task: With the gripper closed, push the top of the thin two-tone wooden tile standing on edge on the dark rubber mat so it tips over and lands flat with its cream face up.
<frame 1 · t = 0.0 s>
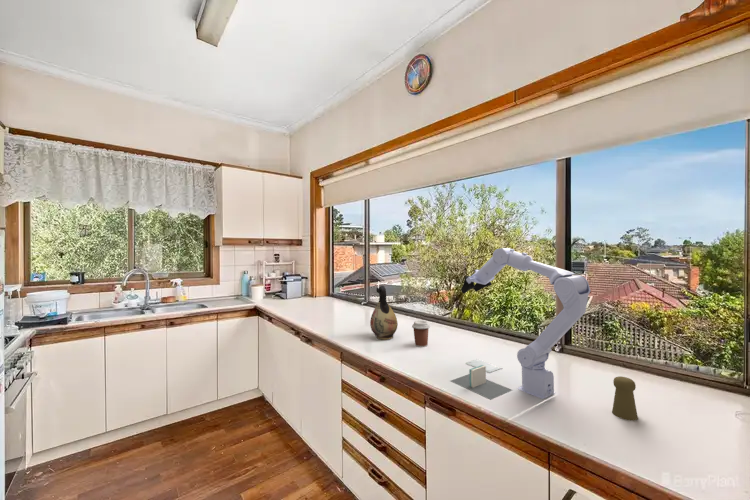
hand: (468, 290, 133), 32 cm above the worktop, tool tilted 50°, fingers open, 7 cm apart
coffee cup: (421, 345, 164), on the worktop
olive green pepper mill: (624, 415, 94), on the worktop
mat: (480, 386, 115), on the worktop
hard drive: (483, 369, 133), on the worktop
ceramic jug: (384, 338, 178), on the worktop
tile: (477, 384, 116), point 1 cm above the worktop, touching mat
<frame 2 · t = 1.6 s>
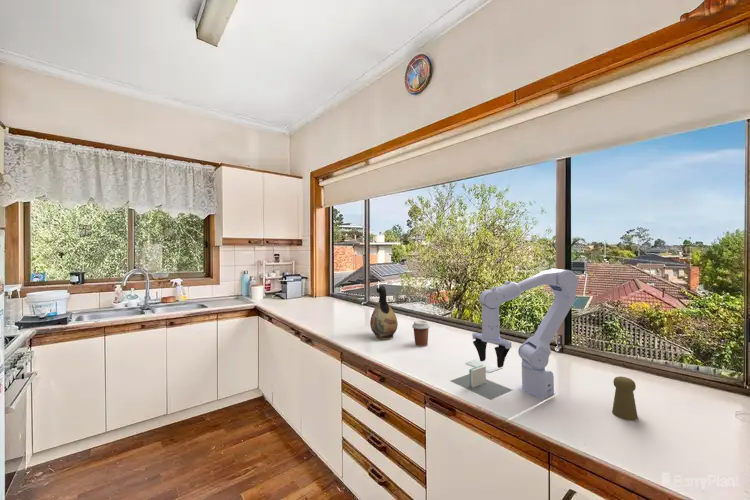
hand: (491, 363, 110), 10 cm above the worktop, tool pointing down, fingers open, 7 cm apart
nothing on the worktop moved.
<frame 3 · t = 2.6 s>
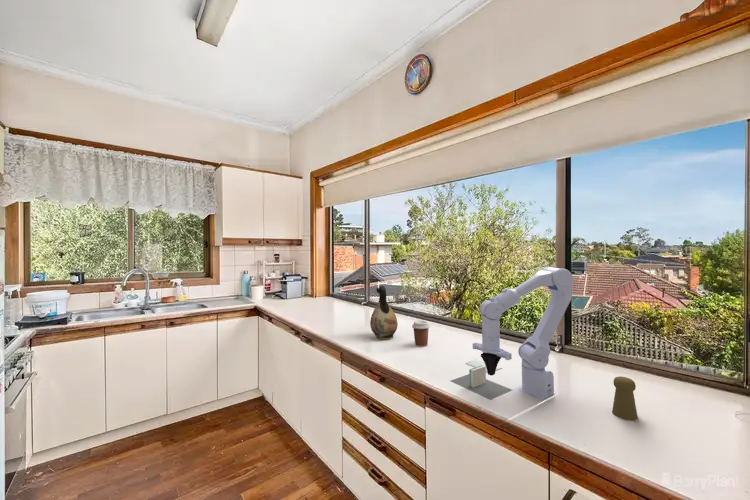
hand: (491, 374, 110), 6 cm above the worktop, tool pointing down, fingers closed
nothing on the worktop moved.
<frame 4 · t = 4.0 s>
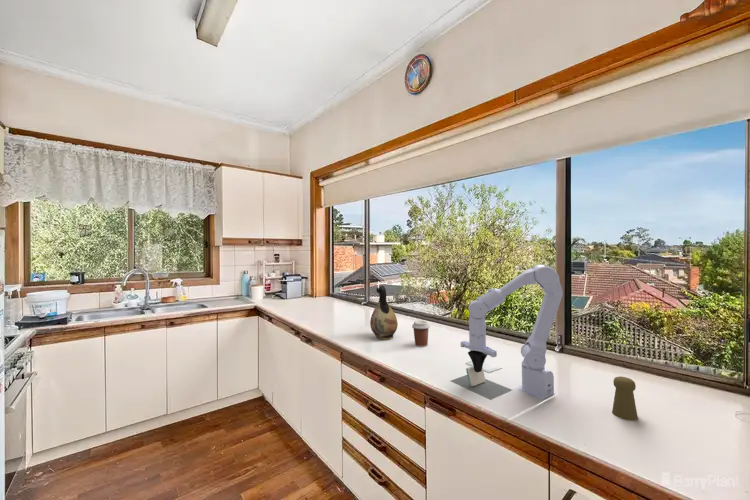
hand: (478, 371, 115), 5 cm above the worktop, tool pointing down, fingers closed
tile: (477, 383, 116), point 1 cm above the worktop, tilted 15°, touching mat
everything else where it was.
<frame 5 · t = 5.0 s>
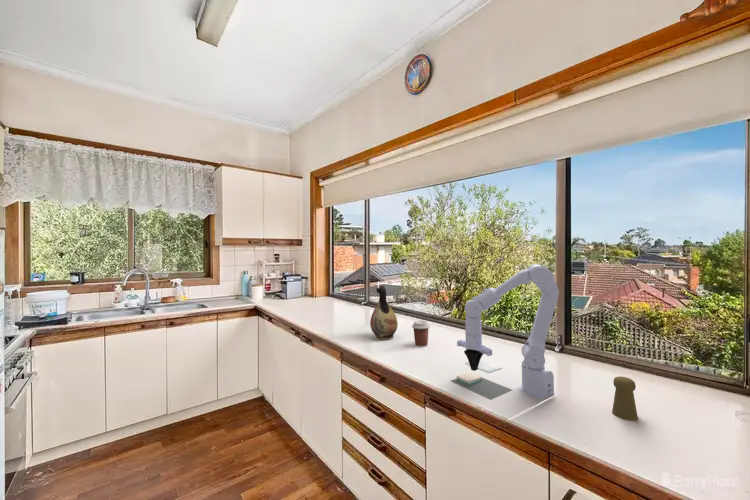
hand: (474, 369, 117), 5 cm above the worktop, tool pointing down, fingers closed
tile: (475, 381, 116), point 1 cm above the worktop, tilted 90°, touching mat
everything else where it was.
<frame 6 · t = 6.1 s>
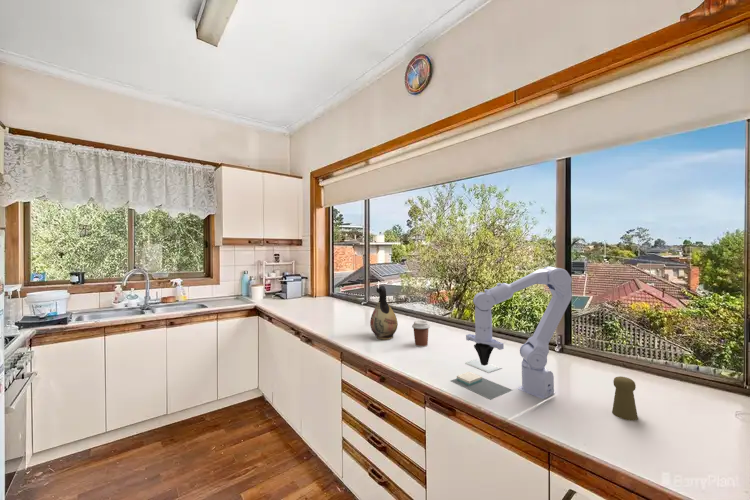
hand: (484, 364, 113), 9 cm above the worktop, tool pointing down, fingers closed
nothing on the worktop moved.
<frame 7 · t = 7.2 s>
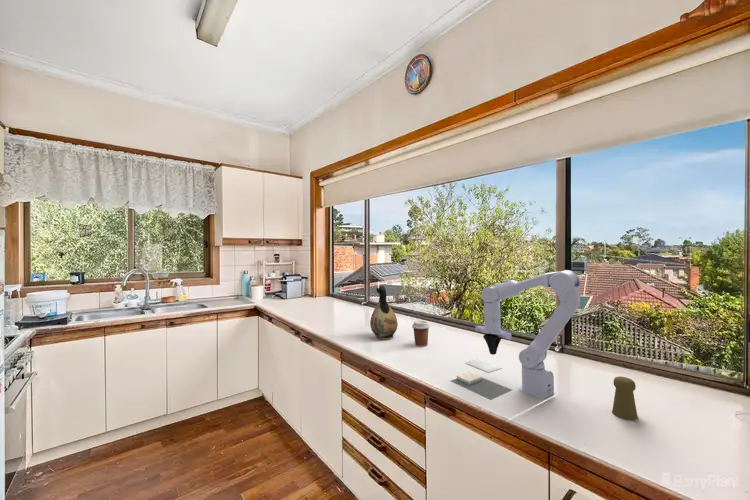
hand: (493, 353, 120), 10 cm above the worktop, tool pointing down, fingers closed
nothing on the worktop moved.
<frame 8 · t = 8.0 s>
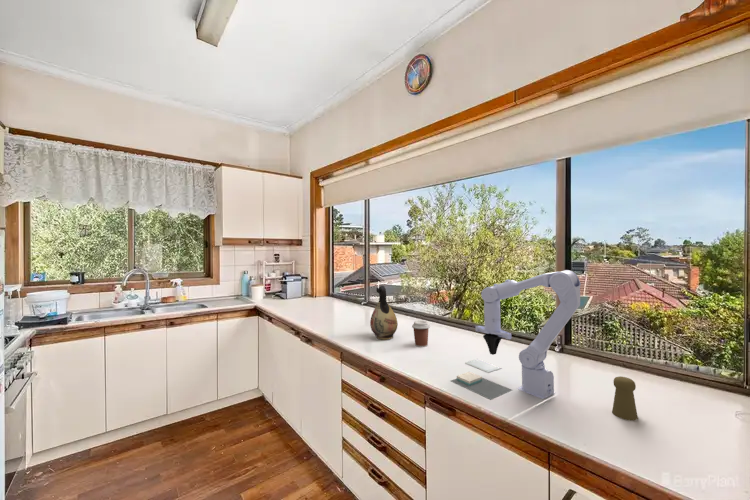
hand: (493, 353, 120), 10 cm above the worktop, tool pointing down, fingers closed
nothing on the worktop moved.
at the end: tile tilted 90°; tile inside the target area on the mat (1.4 cm from its centre), point 1.4 cm above the mat's base; tile touching mat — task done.
